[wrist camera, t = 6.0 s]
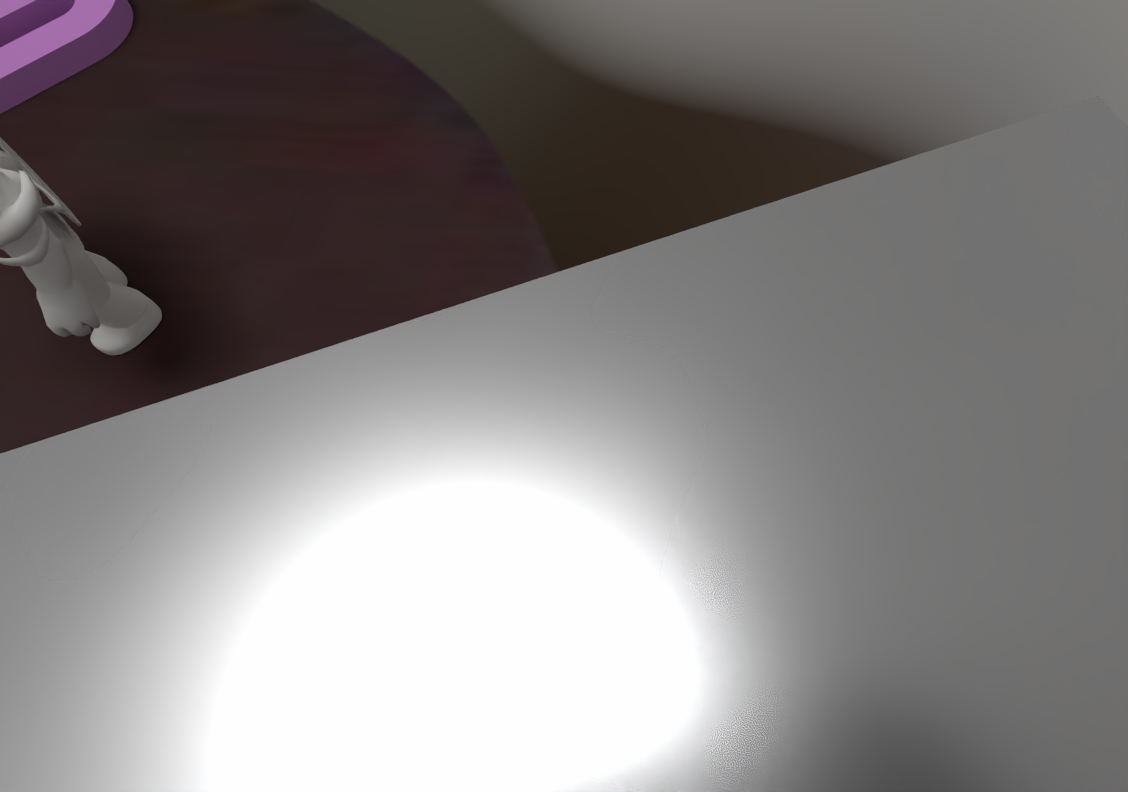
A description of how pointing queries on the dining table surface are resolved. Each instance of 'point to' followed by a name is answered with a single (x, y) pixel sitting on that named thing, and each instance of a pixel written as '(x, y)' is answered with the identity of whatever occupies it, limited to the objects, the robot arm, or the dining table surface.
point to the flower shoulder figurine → (67, 266)
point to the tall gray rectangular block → (629, 520)
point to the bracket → (54, 42)
